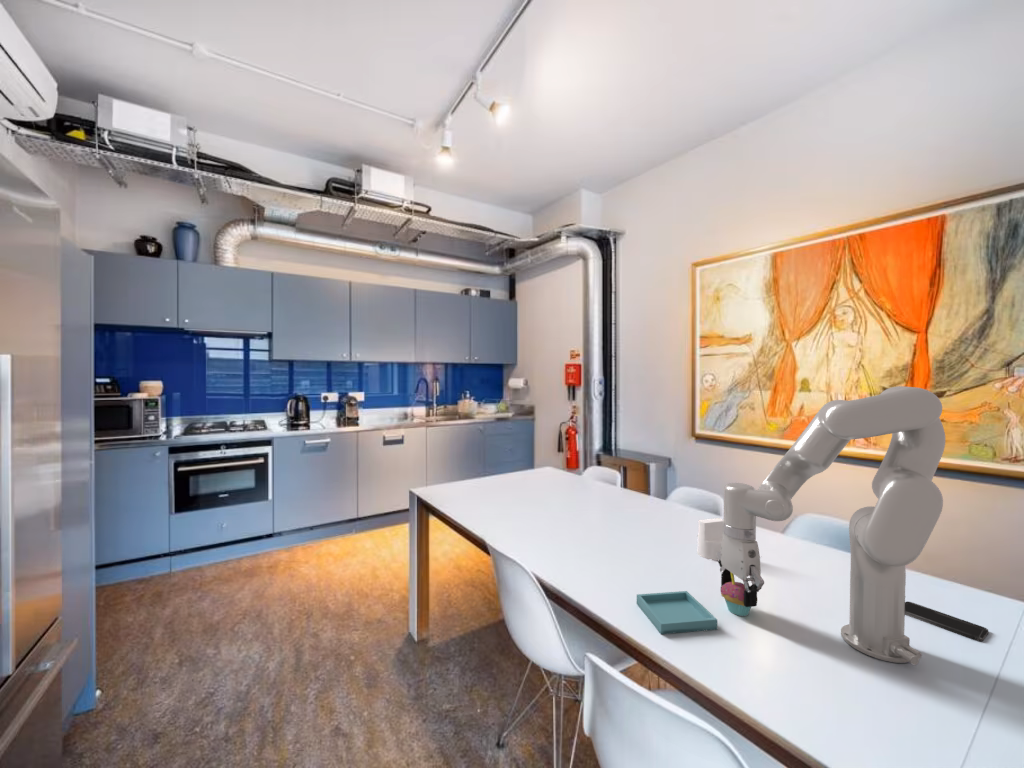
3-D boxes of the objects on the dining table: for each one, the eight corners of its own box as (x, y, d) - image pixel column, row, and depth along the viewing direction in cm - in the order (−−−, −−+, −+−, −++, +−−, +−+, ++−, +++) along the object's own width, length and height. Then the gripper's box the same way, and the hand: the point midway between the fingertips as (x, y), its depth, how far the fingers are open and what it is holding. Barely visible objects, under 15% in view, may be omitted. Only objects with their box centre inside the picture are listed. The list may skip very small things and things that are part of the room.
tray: (717, 629, 101) (717, 619, 101) (661, 634, 100) (661, 624, 99) (686, 599, 115) (686, 590, 115) (636, 603, 113) (636, 594, 113)
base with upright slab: (709, 561, 139) (710, 526, 138) (691, 550, 147) (691, 517, 147) (732, 558, 141) (732, 523, 141) (712, 548, 150) (713, 515, 150)
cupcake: (719, 614, 108) (720, 569, 108) (720, 599, 115) (721, 556, 115) (758, 623, 104) (758, 576, 104) (756, 607, 111) (756, 562, 111)
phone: (981, 639, 97) (896, 609, 109) (981, 644, 97) (896, 613, 109) (989, 628, 101) (907, 600, 114) (989, 633, 101) (907, 604, 114)
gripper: (777, 544, 101) (776, 614, 102) (730, 519, 118) (729, 579, 119) (749, 545, 100) (748, 616, 100) (706, 520, 117) (705, 581, 118)
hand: (738, 596), depth 110 cm, fingers closed on cupcake, 8 cm apart
